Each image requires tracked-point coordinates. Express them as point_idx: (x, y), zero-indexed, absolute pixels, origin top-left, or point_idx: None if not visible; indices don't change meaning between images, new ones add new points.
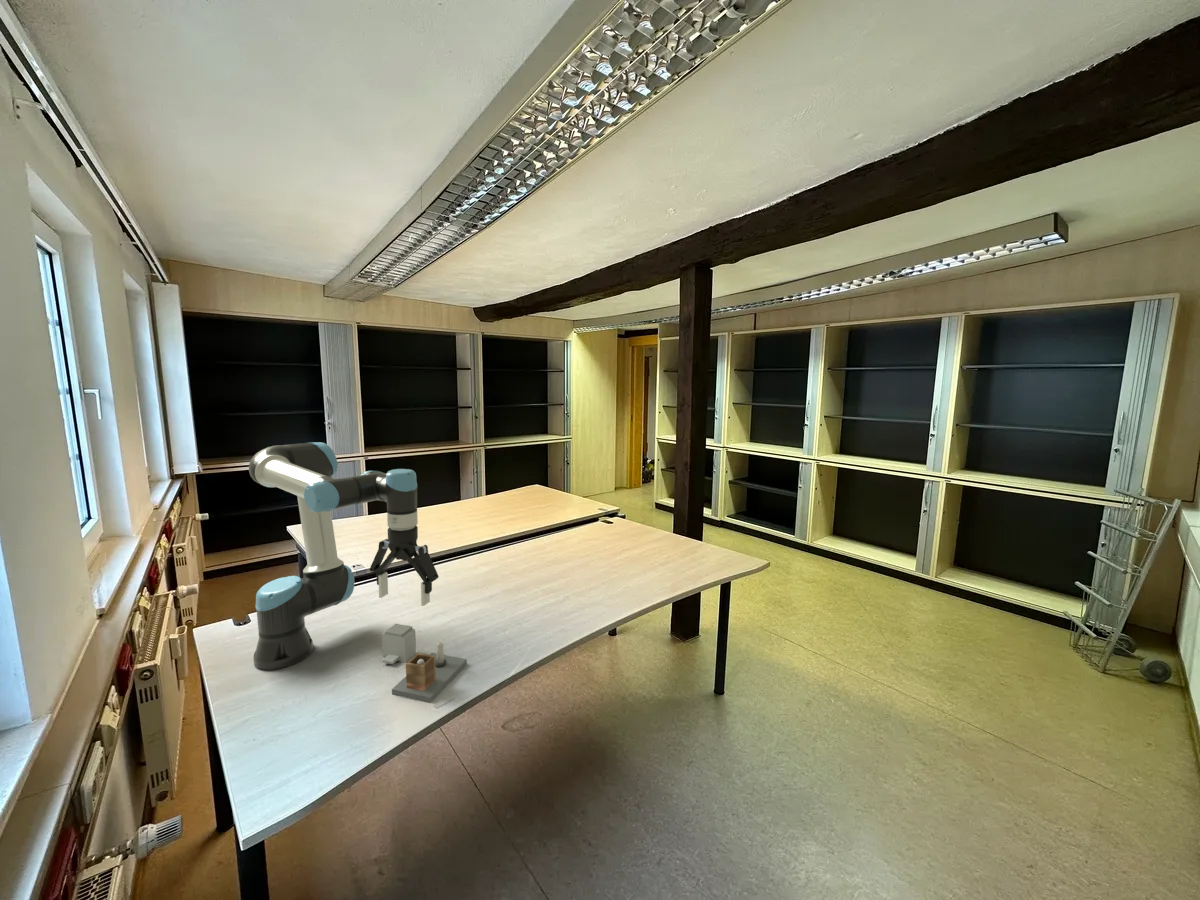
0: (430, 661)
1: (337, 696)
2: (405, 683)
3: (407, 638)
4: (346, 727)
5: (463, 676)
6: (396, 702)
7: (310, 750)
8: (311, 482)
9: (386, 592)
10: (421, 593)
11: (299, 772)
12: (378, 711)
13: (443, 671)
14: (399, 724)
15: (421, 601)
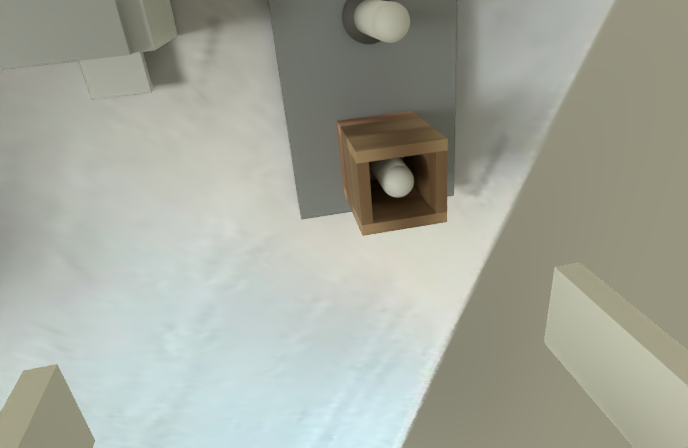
0: (445, 171)
1: (138, 286)
2: (322, 178)
3: (151, 20)
4: (291, 344)
5: (476, 17)
6: (340, 227)
7: (279, 412)
8: None
9: (57, 405)
10: (631, 440)
11: (315, 444)
12: (320, 274)
13: (410, 56)
14: (414, 282)
15: (568, 369)
